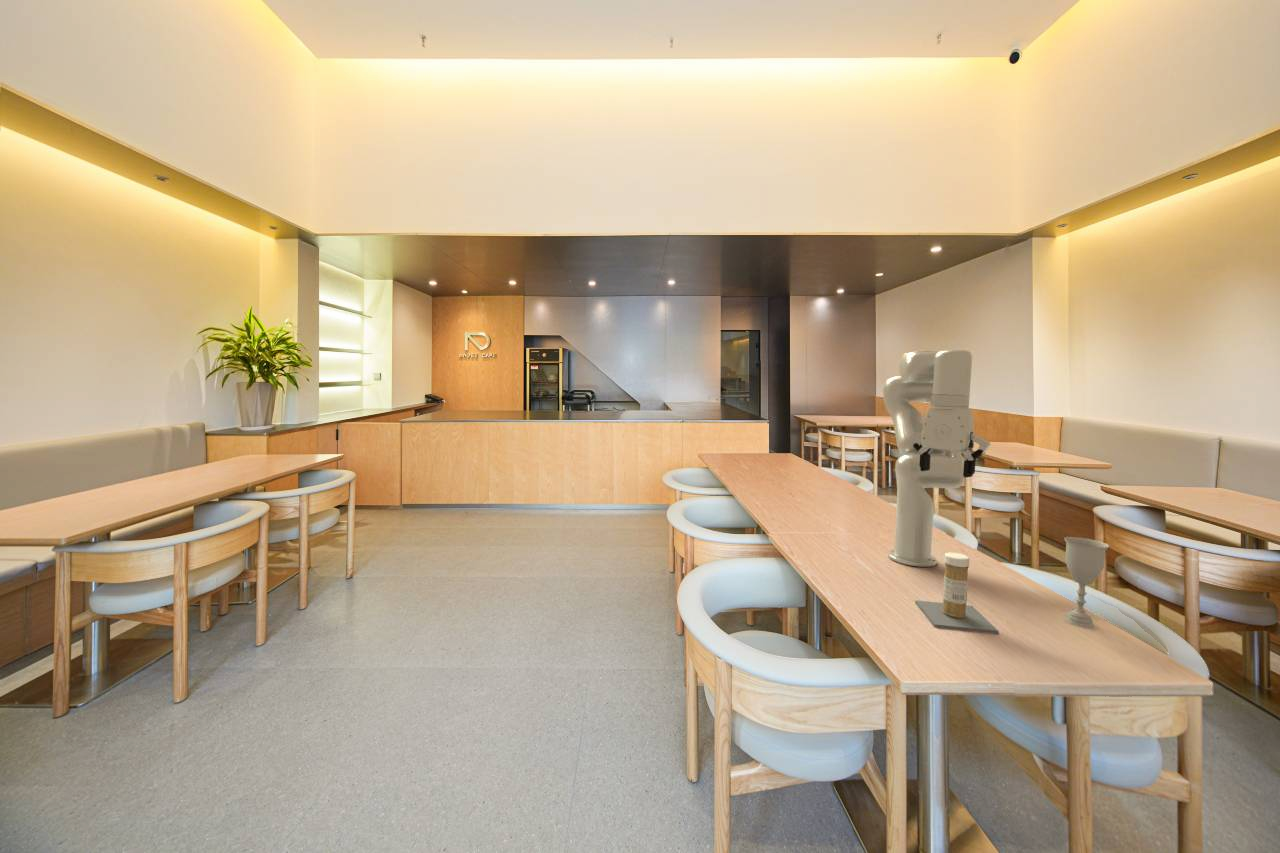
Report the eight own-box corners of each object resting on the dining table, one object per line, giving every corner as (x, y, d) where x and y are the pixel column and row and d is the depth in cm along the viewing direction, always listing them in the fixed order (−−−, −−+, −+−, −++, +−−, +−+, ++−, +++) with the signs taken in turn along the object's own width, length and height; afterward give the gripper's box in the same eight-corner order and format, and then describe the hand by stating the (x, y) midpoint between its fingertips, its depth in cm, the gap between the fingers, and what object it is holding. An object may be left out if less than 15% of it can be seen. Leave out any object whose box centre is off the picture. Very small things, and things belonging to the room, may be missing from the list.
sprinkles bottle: (965, 612, 108) (969, 554, 107) (966, 620, 104) (969, 560, 103) (941, 607, 110) (945, 550, 109) (941, 615, 107) (944, 556, 106)
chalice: (1050, 617, 107) (1056, 538, 106) (1067, 612, 110) (1074, 535, 109) (1091, 633, 101) (1098, 549, 99) (1108, 627, 103) (1116, 545, 102)
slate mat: (915, 602, 114) (915, 600, 114) (972, 608, 112) (972, 605, 112) (934, 627, 102) (934, 624, 102) (998, 633, 100) (998, 631, 100)
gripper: (905, 401, 120) (901, 469, 121) (984, 403, 106) (978, 481, 107) (921, 401, 124) (917, 467, 125) (999, 403, 110) (994, 478, 111)
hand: (945, 473), depth 116 cm, fingers open, 9 cm apart
